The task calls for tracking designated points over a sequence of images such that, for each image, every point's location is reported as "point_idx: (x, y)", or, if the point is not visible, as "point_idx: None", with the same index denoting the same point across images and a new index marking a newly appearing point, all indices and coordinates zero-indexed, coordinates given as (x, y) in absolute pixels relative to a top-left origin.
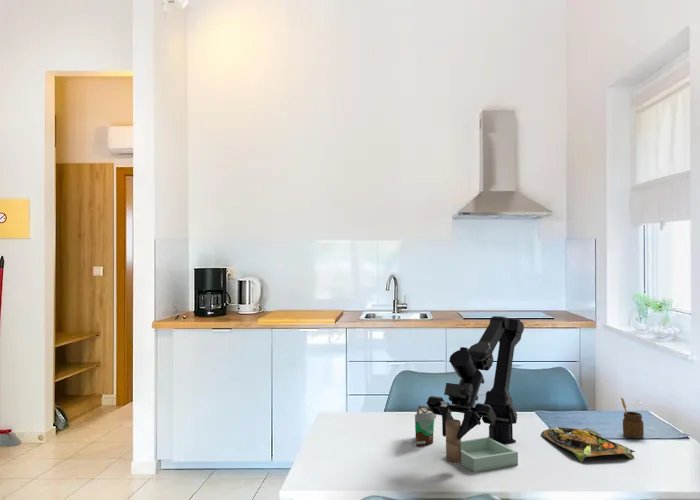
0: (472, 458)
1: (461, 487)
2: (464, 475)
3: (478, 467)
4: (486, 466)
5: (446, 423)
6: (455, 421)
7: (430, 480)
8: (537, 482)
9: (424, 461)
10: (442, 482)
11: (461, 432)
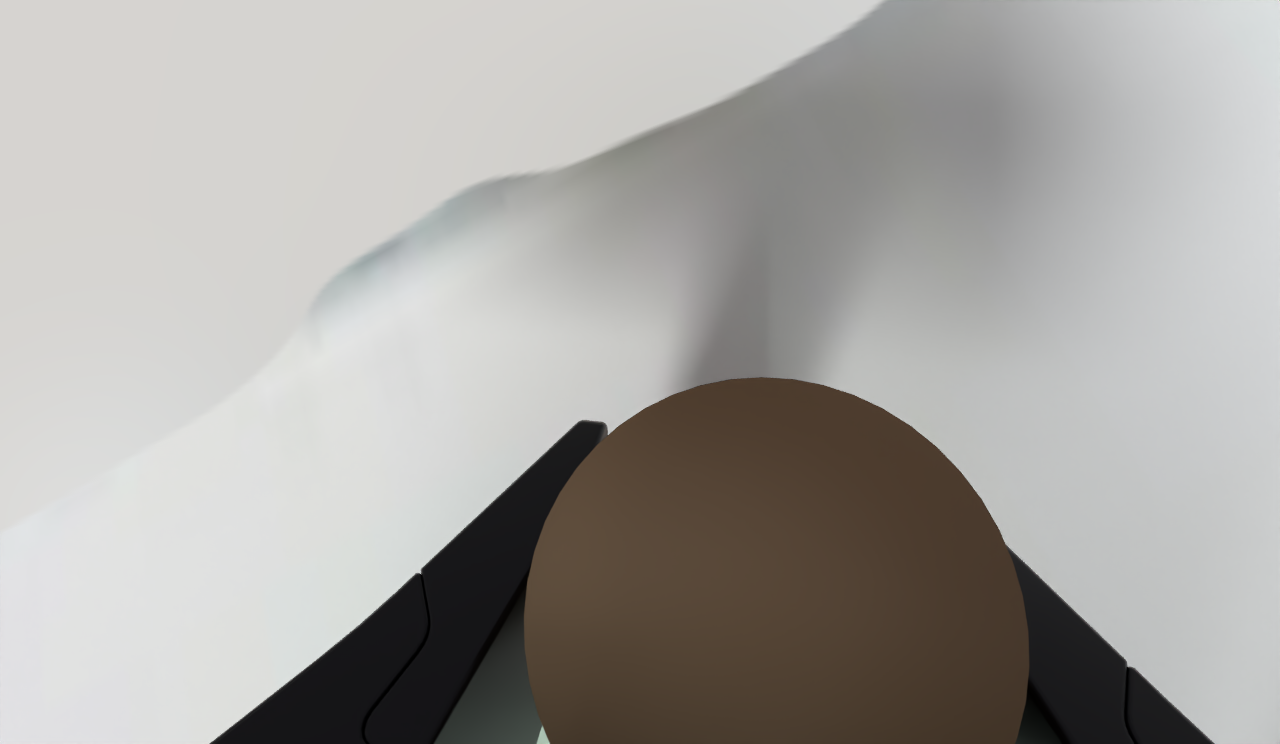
0: None
1: (549, 256)
2: None
3: None
4: None
5: (895, 431)
6: (692, 659)
7: (799, 256)
8: (83, 624)
9: None
10: (703, 268)
11: (519, 482)
